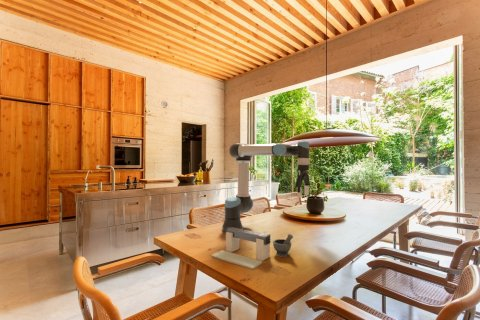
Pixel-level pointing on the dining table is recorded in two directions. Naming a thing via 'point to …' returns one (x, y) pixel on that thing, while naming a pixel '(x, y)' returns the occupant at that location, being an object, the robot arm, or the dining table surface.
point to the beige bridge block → (231, 242)
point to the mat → (237, 259)
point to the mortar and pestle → (282, 246)
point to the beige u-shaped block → (262, 250)
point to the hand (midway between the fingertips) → (303, 196)
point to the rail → (248, 235)
